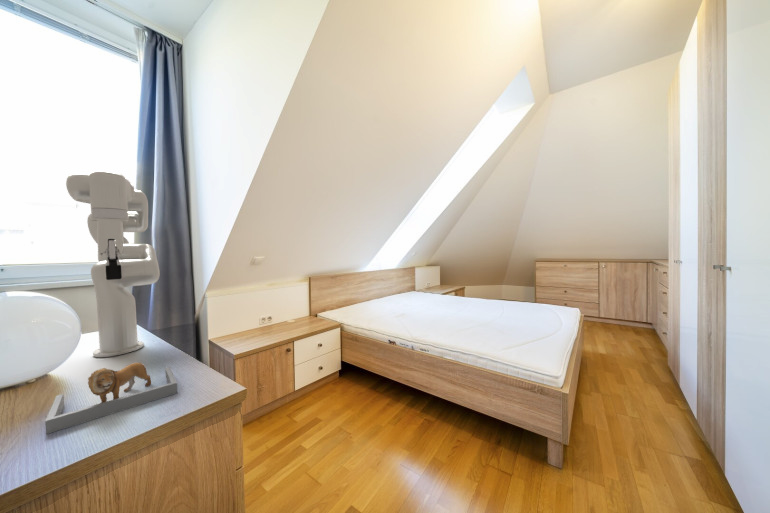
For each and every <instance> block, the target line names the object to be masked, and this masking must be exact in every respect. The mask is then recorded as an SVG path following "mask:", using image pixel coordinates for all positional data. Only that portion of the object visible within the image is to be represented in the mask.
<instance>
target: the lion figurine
mask: <svg viewBox="0 0 770 513" xmlns="http://www.w3.org/2000/svg"><path fill="white" fill-rule="evenodd" d="M135 378H139V379H141V380H144V382H145V381H146V382H145V384H144V386H145V387H150V386H152V380H151V376H150V375H149V374H148V372H147V369H146V366H145V364H144V363H142V362H133V363H129V364H128V365H126V366H125V367H123V368H121V369H120V370H113V369H110V368H107V367H106V368H105V367H104V368H99V369H96V370H95V371H93V372H91V375H90V376H88V377H87V385H88V388H89V389H90V392H91V393H92V394H93V395H95V396H97V397H98V396H99V398H100V400H101V402H100V403H103V402H107V401H108V398H107V395H108V394H110V393H111V394H112V396H113V398H112V400H114V399H117V398H120V389H121V388H120V387H123V386H124V385H126V384H127V383H129V384H128V387H126V388H124V390H123V392H125V393H126V392H129V391H131V390H132V388H133V386H134V384H135V383H136V382H135ZM100 403H98V404H100Z"/></svg>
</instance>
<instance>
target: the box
mask: <svg viewBox="0 0 770 513" xmlns="http://www.w3.org/2000/svg"><path fill="white" fill-rule="evenodd" d="M164 369H165V370H164V371H165V379H166V381H167V384H162V385H159V386H156V387H151V388H148V389H145V390H142V391H138V392H134V393H132V394H128V395H125V396H121V397H119V398H117V399H114V400H113V399H111V400H107V402H103V403H101V402H100V404H99V403H96V404H94V405H93V404H92V405H90V406H86V407H83V408H80V409H75V410H72V411H69V412H65V413H62V412H63V409H64V406H65V396H64V393H62V394H57V395H56V396H55V399H54V401H53V403H52V406H51V407H50V409H49V412H48V413H47V417H46V418H45V421H44V424H45V426H44V427H45V435H49V434H50V433H54V432H58V431H61V430H64V429H67V428H70V427H74V426H77V425H80V424H84V423H86V422H90V421H92V420H96V419H99V418H103V417H106V416H109V415H111V414H115V413H119V412H122V411H124V410H129V409H130V408H134V407H138V406H141V405H144V404H147V403H151V402H153V401H156V400H159V399H163V398H165V397H168V396H173V395H175V394H178V382H177V380H176V378H175V375H174V373H173V371H172V368H171V366H167V367H165V368H164Z"/></svg>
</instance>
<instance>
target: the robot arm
mask: <svg viewBox="0 0 770 513" xmlns="http://www.w3.org/2000/svg"><path fill="white" fill-rule="evenodd" d="M65 185H66V187H65V188H66V190H67V193H68V194H69V196H70V197H71V198H72V199H73V200H74V201H76V202H80V203H84V204H90V214H89V215H88V216H87V219H86V220H87V222H86V223H87V228H88V230H89V231H88V232H89V234H90V236H91V238H92V239H93V240H94V242H95V243H96V244H97V260H98V262H95V264H93V265H92V267H91V269H90V275H91V276H90V277H91V280H92V284H93V287H94V291H95V299H96V312H97V313H96V314H97V325H98V326H97V327H98V328H97V329H98V344H99V348H97V349H95V350H94V351H93V352H92V354H93V355H92V356H93V357H95V358H108V357H109V358H110V357H115V356H120V355H121V356H122V355H124V354H128V353H131V352H135V351H137V350H140V349H141V348H143V347H144V342H143V341H140V340H139V339H138V325H137V323H138V322H137V321H138V320H137V308H136V307H137V306H136V304H137V303H136V298H135V296H134V295H133V294H132V293H131V292H130V291H128V290H126V289H125V288H126V287H127V288H129V287H138V286H146V285H153V284H156V283H158V281H159V279H160V274H161V273H160V272H161V271H160V266H159V261H158V258H157V257H158V256H157V253H156V249H155V248H154V246H152V245H151V244H148V243H129V240H128V239H127V237H125V235H124V233H144V232H145V231H146V230H147V229H148V228H149V200H148V198H147V197H148V196H147V195H146V194H145V193H144V192H143V191H141V190H138V189H135V187H134V185H133V184H132V183H131V181H129V179H127V178H126V177H125V176H124V175H122V173H121V174H120V173H118V172H113V171H106V170H93V171H91V172H90V173H84V172H82V173H81V172H72V173H71V174H68V176H67V178H66V182H65Z"/></svg>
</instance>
